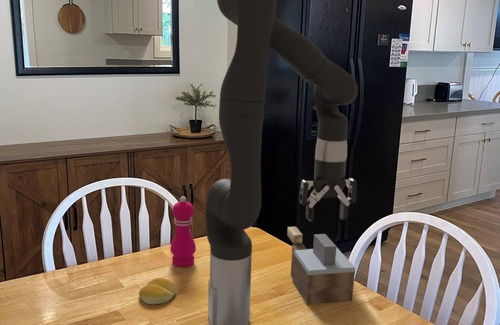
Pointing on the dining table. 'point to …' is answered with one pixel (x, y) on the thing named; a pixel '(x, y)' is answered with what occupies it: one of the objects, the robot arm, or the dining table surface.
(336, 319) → the dining table surface
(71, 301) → the dining table surface
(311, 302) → the toolbox
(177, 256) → the pepper mill
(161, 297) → the bread roll
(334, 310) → the dining table surface
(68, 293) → the dining table surface
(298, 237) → the wooden key
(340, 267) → the lid
